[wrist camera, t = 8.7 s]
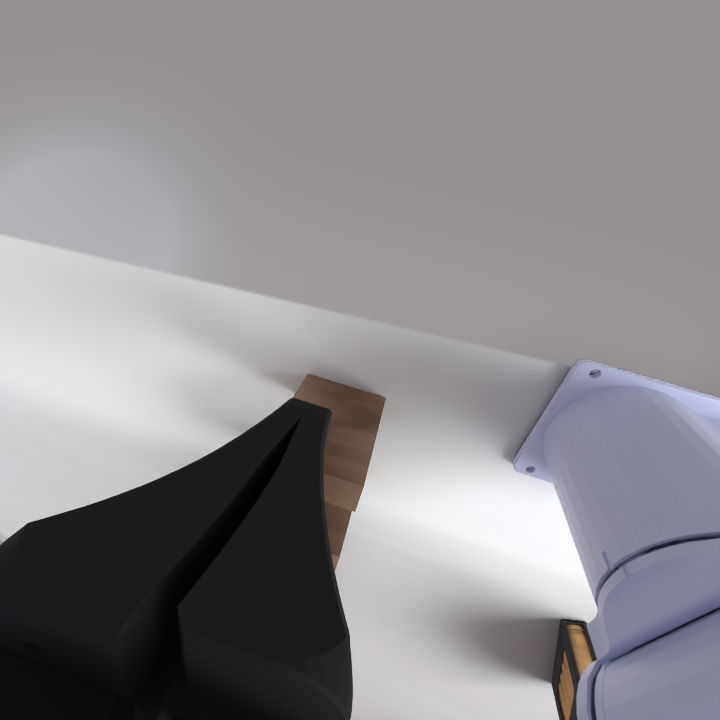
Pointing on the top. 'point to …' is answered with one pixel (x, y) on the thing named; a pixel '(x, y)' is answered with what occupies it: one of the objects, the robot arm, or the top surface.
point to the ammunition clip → (570, 665)
